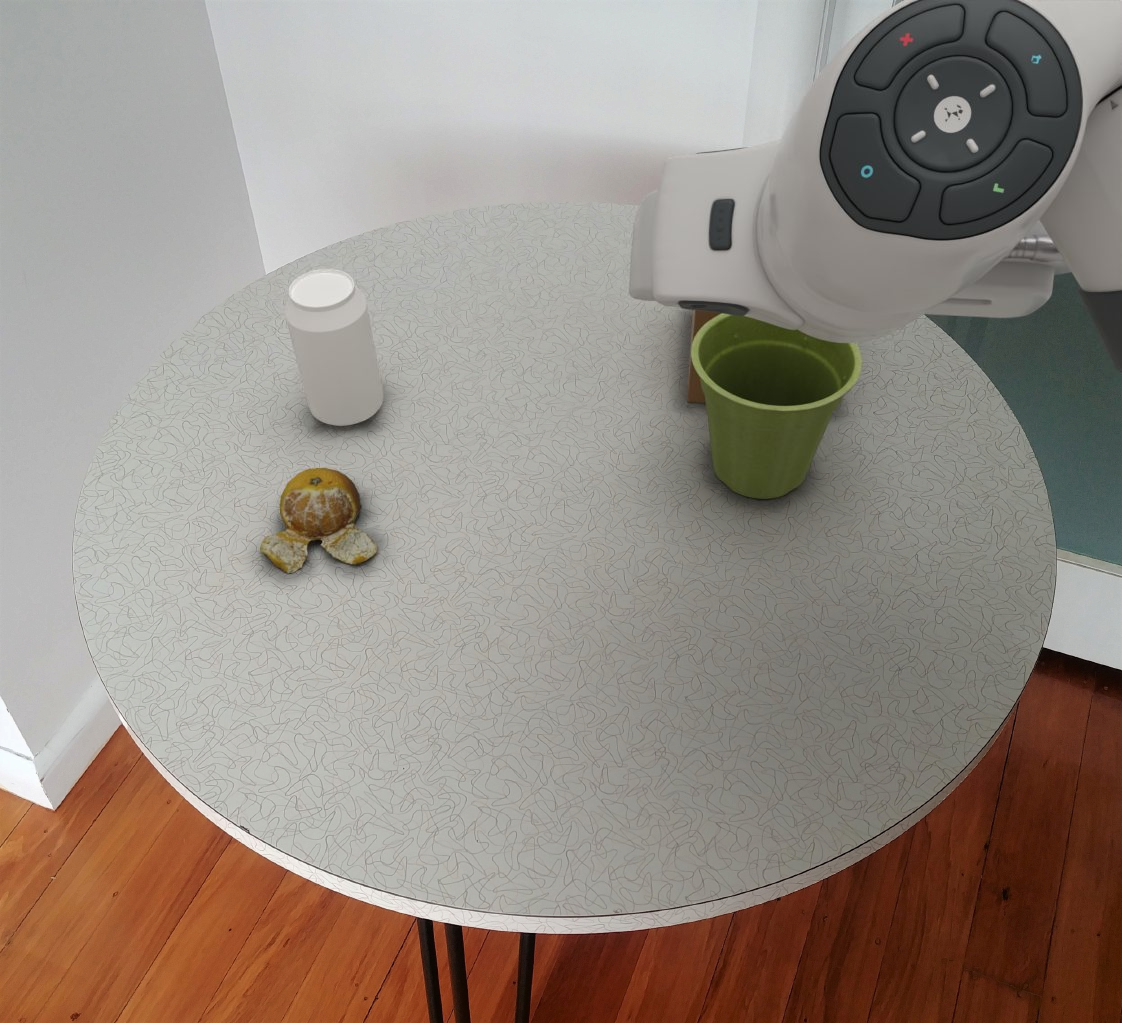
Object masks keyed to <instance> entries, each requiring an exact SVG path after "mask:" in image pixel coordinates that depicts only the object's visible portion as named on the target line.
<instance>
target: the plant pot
mask: <svg viewBox="0 0 1122 1023" xmlns="http://www.w3.org/2000/svg"><path fill="white" fill-rule="evenodd" d="M691 359H692V363H693V366H694V368H695V370H696V372H697V374H698V375H699V377H700V380H701V387H702V390H703V393H704V395H705V401H706V403H705V408H706V416H707V417H706V418H707V424H708V434H709V442H710V451H711V462H712V467H713V471H714V473H715V476H716V477H717V479H718V480H720V481H722V482H723V483H724V484H725V485H726V486H727V487H729V489H730V490H731V491H733V492H734V493H736V494H738V495H741V496H745V497H746V498H747V497H748V498H753V499H763V500H764V499H776V498H780V497H783V496H785V495H786V494H788V493H789V492H792V491H793V490H795V489H797V488H798V487H800V486H801V484H802V483H803V481H804V480H805V478H806V476H807V474H808V472H809V469H810V467H811V465H812V462H813V460H814V457H815V455H816V453H817V450H818V448H819V447H820V446H819V445H820V443H821V441H822V439H823V437H824V434H825V432H826V429H827V427H828V425H829V423H830V422H831V419H832V416H833V414H834V412H835V411H836V409H837V408H838V407H839V406H840V404H841V402H842V400H843V397H844V396H845V395H846V394H848V393H849V392H850V391H851V390H852V389H853V387H854V386H855V385H856V384H857V382H858V380H859V378H860V376H861V374H862V369H863V356H862V352H861V350H860V348H859V345H858V343H837V342H829V341H825V340H821V339H818V338H815V337H812V336H809V335H807V334H805V333H803V332H801V331H799V330H798V329H797V330H790V329H785V328H782V327H778V326H776V325H773V324H770V323H767V322H764V321H761V320H757V319H754V318H750V317H746V316H735V315H729V314H723V313H722V314H720V315H718V316H716V317H714V318H713V319H711V320H710V321H708V322H707V323H706V324H705V325H704V326H703V327H702V328H701V329H700V330H699V331H698V332H697V334H696V336H695V338H694V340H693V343H692V347H691Z"/></svg>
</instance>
